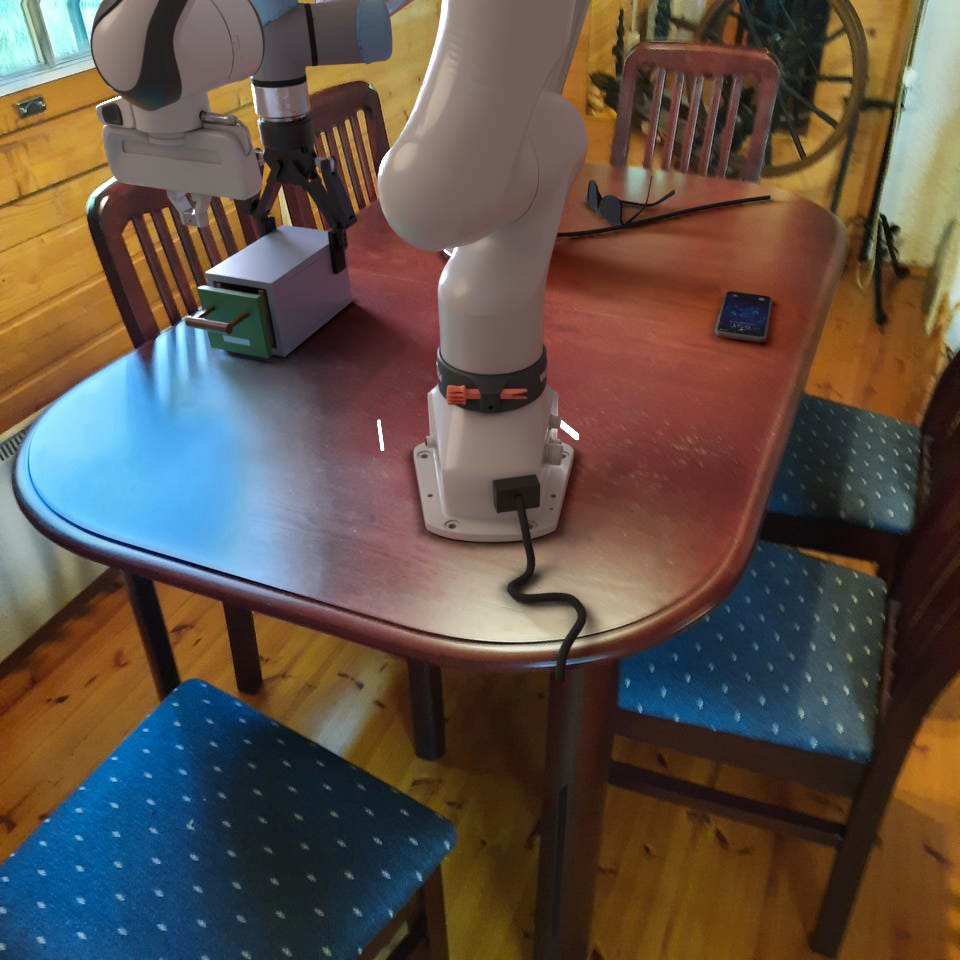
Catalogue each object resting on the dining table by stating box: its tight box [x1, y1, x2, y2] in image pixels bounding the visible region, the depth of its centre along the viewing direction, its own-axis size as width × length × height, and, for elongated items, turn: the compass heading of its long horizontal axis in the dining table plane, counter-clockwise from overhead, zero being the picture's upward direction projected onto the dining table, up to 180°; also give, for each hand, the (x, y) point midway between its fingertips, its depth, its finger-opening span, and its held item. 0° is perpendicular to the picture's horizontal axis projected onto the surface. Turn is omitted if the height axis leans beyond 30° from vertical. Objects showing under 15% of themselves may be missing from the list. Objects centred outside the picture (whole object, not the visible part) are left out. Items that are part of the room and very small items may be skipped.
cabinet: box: [204, 224, 353, 358], centre depth 127 cm, size 20×11×11 cm, turn 157°
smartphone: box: [714, 290, 774, 343], centre depth 128 cm, size 7×1×15 cm
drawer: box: [184, 282, 276, 359], centre depth 123 cm, size 24×10×9 cm, turn 157°
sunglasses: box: [585, 175, 676, 226], centre depth 165 cm, size 17×14×5 cm
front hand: (196, 225), depth 107 cm, fingers closed
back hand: (306, 265), depth 132 cm, fingers closed on cabinet, 11 cm apart
